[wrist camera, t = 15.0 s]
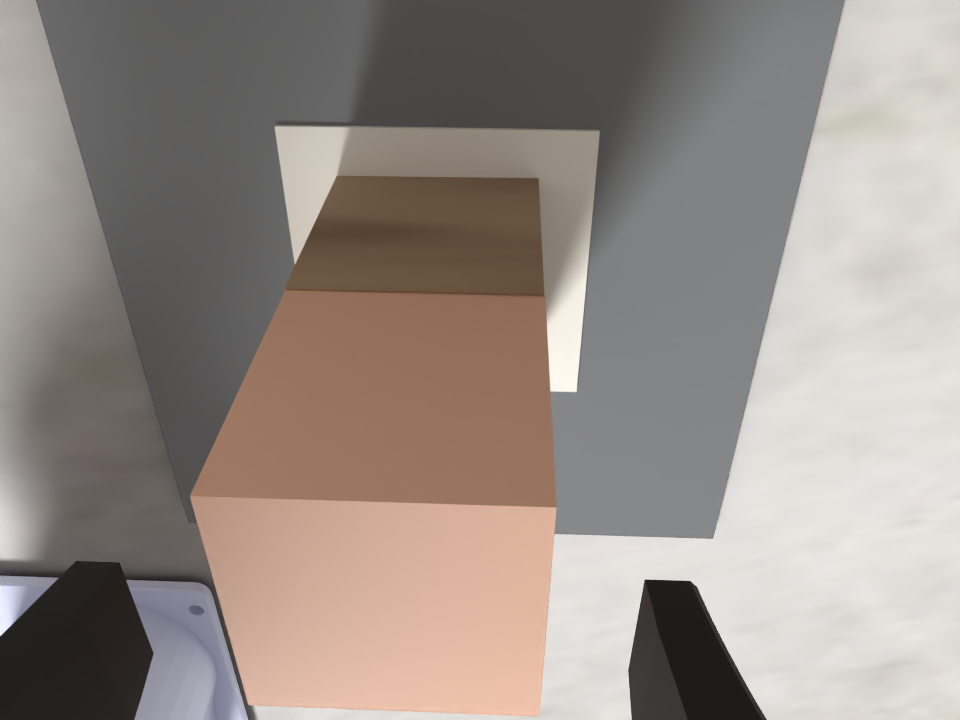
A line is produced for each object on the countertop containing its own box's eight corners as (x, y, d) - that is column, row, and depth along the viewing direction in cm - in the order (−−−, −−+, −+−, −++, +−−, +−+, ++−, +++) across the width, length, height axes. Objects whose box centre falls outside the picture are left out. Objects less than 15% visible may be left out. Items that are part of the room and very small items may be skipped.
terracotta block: (534, 487, 17) (539, 716, 12) (314, 479, 17) (248, 705, 13) (545, 296, 14) (556, 507, 10) (284, 290, 14) (189, 495, 10)
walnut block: (531, 346, 21) (534, 484, 16) (355, 342, 21) (315, 478, 17) (538, 178, 18) (544, 293, 14) (336, 175, 18) (283, 288, 14)
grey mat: (710, 528, 25) (713, 541, 24) (192, 513, 25) (187, 525, 25) (878, -177, 14) (889, -177, 14) (-6, -182, 15) (-21, -181, 14)
